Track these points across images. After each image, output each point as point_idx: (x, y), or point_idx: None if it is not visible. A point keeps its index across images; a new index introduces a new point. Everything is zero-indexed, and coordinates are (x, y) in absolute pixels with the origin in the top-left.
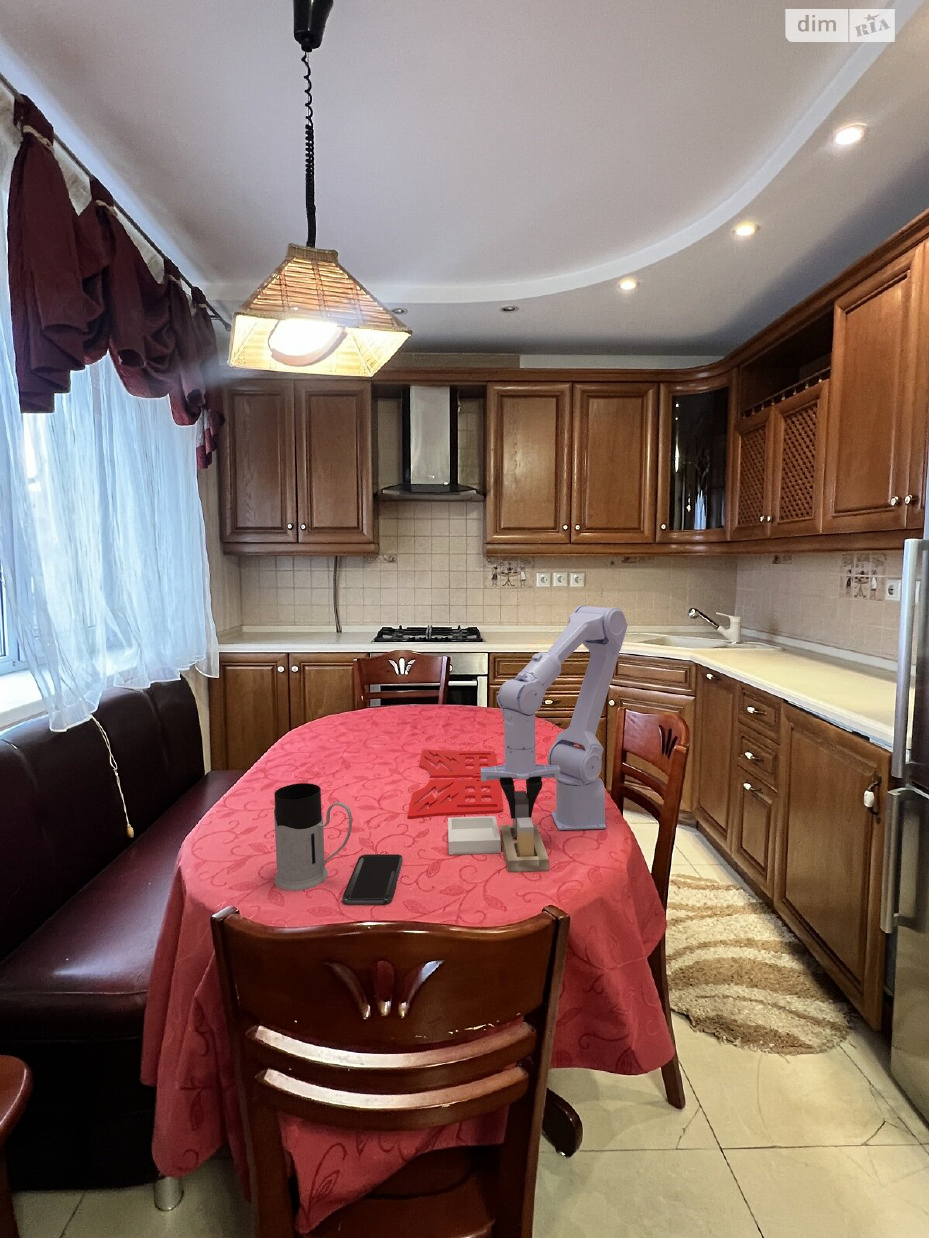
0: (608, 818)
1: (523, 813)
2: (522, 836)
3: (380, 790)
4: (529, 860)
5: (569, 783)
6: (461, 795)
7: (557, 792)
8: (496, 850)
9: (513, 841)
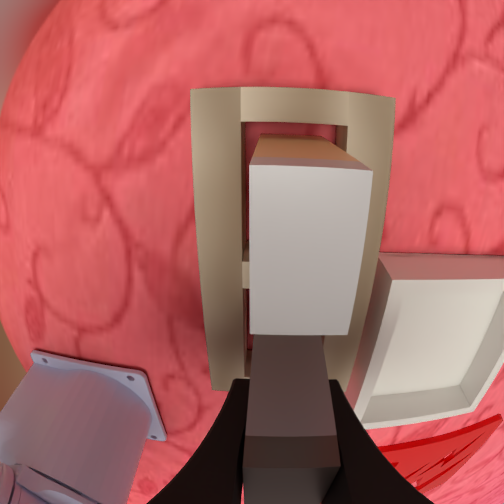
0: None
1: (281, 390)
2: (335, 156)
3: (478, 474)
4: (289, 88)
5: (63, 489)
6: None
7: (123, 478)
8: (393, 257)
9: None
